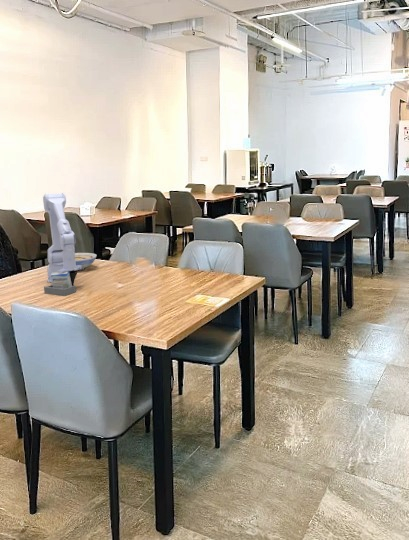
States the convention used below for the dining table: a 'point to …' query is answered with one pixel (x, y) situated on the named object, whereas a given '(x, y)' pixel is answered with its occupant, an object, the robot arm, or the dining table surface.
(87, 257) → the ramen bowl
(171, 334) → the dining table surface
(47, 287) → the cradle jig
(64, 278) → the medicine box
